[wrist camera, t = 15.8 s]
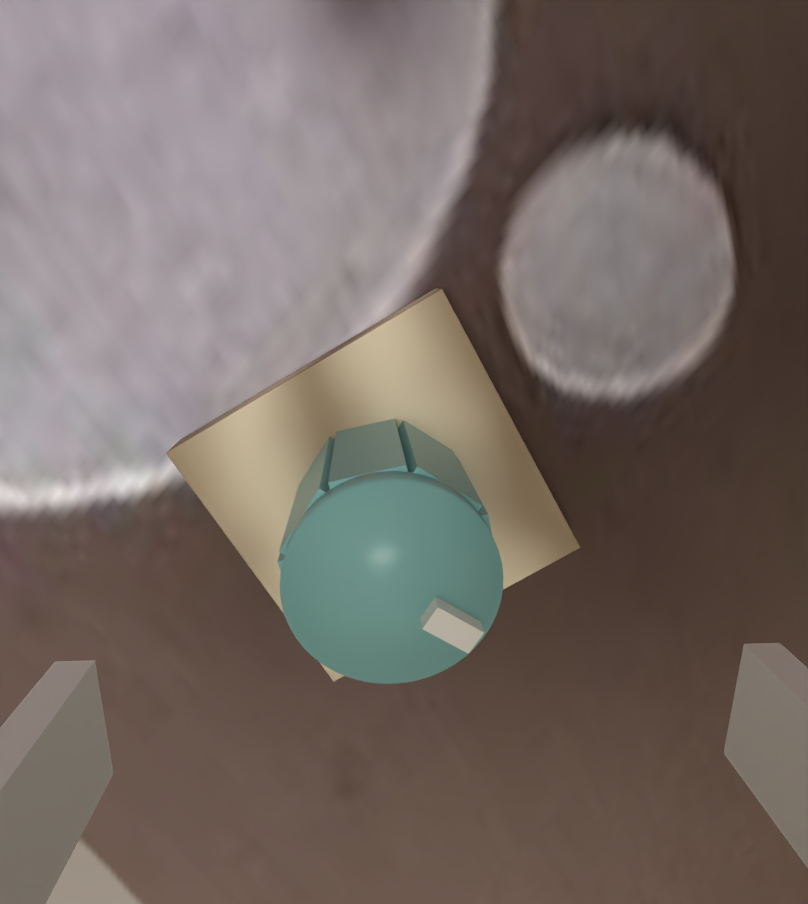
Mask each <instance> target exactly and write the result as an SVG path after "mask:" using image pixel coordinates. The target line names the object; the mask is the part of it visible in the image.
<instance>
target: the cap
mask: <svg viewBox="0 0 808 904" xmlns="http://www.w3.org/2000/svg"><path fill="white" fill-rule="evenodd" d="M279 552H280V555H279V558H278V561H277V562H278V565H279V568H280V572H281V574H280V597H281V603H282V608H283V612H284V615H285V618H286V620H287V623H288V625H289V627H290V629H291V631H292V632H293V634H294V636H295V637H296V639H297V640H298V641H299V643H300V644H301V645H302V647H303V648H304V649H305V650H306V651H307V652H308V653H309V654H310V655H311V656H312V657H314V658H315V659H316V660H318V661H319V662H320V663H321V664H323V665H324V666H326V667H328V668H330V669H331V670H333V671H335V672H337V673H339V674H342V675H344V676H346V677H349V678H353V679H356V680H360V681H365V682H371V683H381V684H395V683H406V682H411V681H417V680H420V679H424V678H427V677H430V676H433V675H435V674H437V673H440V672H442V671H444V670H446V669H447V668H449V667H451V666H453V665H455V664H456V663H457V662H459V661H460V660H461V659H463V658H464V657H466V656H467V655H468V654H469V653H470V652H471V651H472V650H473V649H474V648H475V647H476V646H477V645H478V644H479V643H480V641H481V640H482V639H483V638H484V636H485V635H486V633H487V632H488V630H489V629H490V627H491V625H492V623H493V621H494V619H495V617H496V615H497V612H498V609H499V606H500V603H501V598H502V592H503V568H502V561H501V557H500V554H499V550H498V548H497V545H496V543H495V541H494V538H493V536H492V532H491V526H490V521H489V516H488V513H487V511H486V509H485V507H484V505H483V503H482V502H481V500H480V498H479V496H478V494H477V492H476V491H475V489H474V487H473V485H472V483H471V481H470V480H469V478H468V476H467V474H466V472H465V470H464V469H463V467H462V465H461V463H460V461H459V459H458V458H457V457H456V456H455V454H454V452H453V450H451V449H450V448H448V447H446V446H445V445H443V444H442V443H440V442H438V441H437V440H435V439H433V438H432V437H430V436H429V435H427V434H425V433H424V432H422V431H421V430H419V429H417V428H416V427H414V426H412V425H411V424H409V423H408V422H406V421H404V420H403V421H402V422H401V424H400V426H399V427H398V429H397V425H396V421H395V419H390V420H386V421H381V422H377V423H372V424H368V425H364V426H359V427H355V428H350V429H346V430H341V431H337V432H336V436H335V440H334V439H333V438H331V437H329V438H328V439H327V441H326V443H325V444H324V446H323V447H322V449H321V450H320V452H319V454H318V455H317V457H316V458H315V460H314V462H313V463H312V465H311V466H310V468H309V470H308V471H307V473H306V474H305V476H304V477H303V479H302V481H301V482H300V484H299V486H298V489H297V493H296V496H295V499H294V503H293V506H292V509H291V513H290V516H289V519H288V523H287V526H286V529H285V533H284V536H283V539H282V543H281V546H280V550H279Z"/></svg>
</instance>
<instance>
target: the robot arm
mask: <svg viewBox="0 0 808 904" xmlns="http://www.w3.org/2000/svg"><path fill="white" fill-rule="evenodd" d="M724 754H725V756H726V757H727V758H728V760H729V761H730V762H731V764H732V765H733V767H734V768H735V769H736V771H737V772H738V773H739V775H740V776H741V777H742V779H743V780H744V782H745V783H746V784H747V786H748V787H749V788H750V790H751V791H752V793H753V794H754V795H755V797H756V798H757V799H758V801H759V802H760V804H761V805H762V806H763V808H764V809H765V810H766V812H767V813H768V814H769V816H770V817H771V819H772V820H773V821H774V823H775V824H776V825H777V827H778V828H779V830H780V831H781V832H782V834H783V835H784V836H785V838H786V839H787V840H788V842H789V843H790V845H791V846H792V847H793V849H794V850H795V851H796V853H797V854H798V856H799V857H800V858H801V860H802V861H803V862H804V864H805V865H806V866H807V868H808V668H807V667H806V666H805V665H804V664H803V663H801V662H800V661H799V660H798V659H797V658H796V657H795V656H794V655H793V654H792V653H790V652H789V651H788V650H787V649H786V648H785V647H784V646H783V645H782V644H781V643H756V644H744V646H743V652H742V657H741V662H740V668H739V673H738V679H737V684H736V689H735V695H734V700H733V706H732V711H731V716H730V722H729V727H728V733H727V738H726V743H725V749H724ZM112 776H113V768H112V762H111V756H110V750H109V743H108V737H107V731H106V725H105V719H104V713H103V707H102V701H101V695H100V688H99V682H98V676H97V670H96V664H95V660H92V661H55V662H54V663H53V664H52V666H51V667H50V668H49V669H48V671H47V672H46V673H45V674H44V675H43V677H42V678H41V679H40V680H39V681H38V683H37V684H36V685H35V686H34V687H33V689H32V690H31V691H30V692H29V693H28V695H27V696H26V697H25V698H24V700H23V701H22V702H21V703H20V704H19V706H18V707H17V708H16V709H15V710H14V712H13V713H12V714H11V715H10V716H9V718H8V719H7V720H6V721H5V722H4V724H3V725H2V726H1V727H0V904H46V902H47V900H48V898H49V896H50V894H51V892H52V890H53V888H54V886H55V884H56V883H57V880H58V879H59V877H60V875H61V873H62V871H63V869H64V867H65V865H66V864H67V862H68V859H69V858H70V856H71V854H72V852H73V850H74V848H75V846H76V844H77V843H78V841H79V839H80V837H81V835H82V833H83V831H84V829H85V827H86V825H87V823H88V822H89V820H90V818H91V816H92V814H93V812H94V810H95V808H96V806H97V804H98V802H99V801H100V799H101V797H102V795H103V793H104V791H105V789H106V787H107V785H108V783H109V781H110V780H111V778H112Z"/></svg>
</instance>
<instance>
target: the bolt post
mask: <svg viewBox="0 0 808 904" xmlns="http://www.w3.org/2000/svg"><path fill="white" fill-rule="evenodd" d="M390 419H395V421H396V425H397V429H398V427H399V426H400V424H401V422H402V421H403V420H404V421H406V422H408V423H409V424H411V425H412V426H414V427H416V428H417V429H419V430H421V431H422V432H424V433H425V434H427V435H429V436H430V437H432V438H433V439H435V440H437V441H438V442H440V443H442V444H443V445H445V446H446V447H448V448H450V449H451V450H453V452H454V454H455V456H456V457H457V458H458V459H459V461H460V463H461V465H462V467H463V469H464V470H465V472H466V474H467V476H468V478H469V480H470V481H471V483H472V485H473V487H474V489H475V491H476V492H477V494H478V496H479V498H480V500H481V502H482V503H483V505H484V507H485V509H486V511H487V513H488V516H489V521H490V526H491V532H492V536H493V538H494V541H495V543H496V545H497V548H498V550H499V554H500V557H501V561H502V568H503V589H505V588H507V587H509V586H511V585H512V584H514V583H516V582H518V581H520V580H522V579H523V578H525V577H527V576H529V575H531V574H533V573H534V572H536V571H538V570H540V569H542V568H544V567H545V566H547V565H549V564H551V563H553V562H555V561H557V560H558V559H560V558H562V557H564V556H566V555H568V554H569V553H571V552H573V551H575V550H577V549H579V548H580V546H579V544H578V543H577V541H576V539H575V537H574V535H573V533H572V531H571V530H570V528H569V526H568V524H567V522H566V520H565V518H564V516H563V515H562V513H561V511H560V509H559V507H558V505H557V503H556V501H555V500H554V498H553V496H552V494H551V492H550V490H549V488H548V486H547V485H546V483H545V481H544V479H543V477H542V475H541V473H540V471H539V470H538V468H537V466H536V464H535V462H534V460H533V458H532V457H531V455H530V453H529V451H528V449H527V447H526V445H525V443H524V442H523V440H522V438H521V436H520V434H519V432H518V430H517V428H516V427H515V425H514V423H513V421H512V419H511V417H510V415H509V413H508V412H507V410H506V408H505V406H504V404H503V402H502V400H501V399H500V397H499V395H498V393H497V391H496V389H495V387H494V385H493V384H492V382H491V380H490V378H489V376H488V374H487V372H486V370H485V369H484V367H483V365H482V363H481V361H480V359H479V357H478V355H477V354H476V352H475V350H474V348H473V346H472V344H471V342H470V340H469V339H468V337H467V335H466V333H465V331H464V329H463V327H462V326H461V324H460V322H459V320H458V318H457V316H456V314H455V312H454V311H453V309H452V307H451V305H450V303H449V301H448V299H447V297H446V296H445V294H444V292H443V290H442V289H437V288H435V289H433V290H432V291H430V292H428V293H427V294H425V295H423V296H422V297H420V298H418V299H417V300H415V301H413V302H412V303H410V304H408V305H407V306H405V307H403V308H401V309H400V310H398V311H396V312H395V313H393V314H391V315H390V316H388V317H386V318H385V319H383V320H381V321H380V322H378V323H376V324H375V325H373V326H371V327H369V328H368V329H366V330H364V331H363V332H361V333H359V334H358V335H356V336H354V337H353V338H351V339H349V340H348V341H346V342H344V343H343V344H341V345H339V346H338V347H336V348H334V349H332V350H331V351H329V352H327V353H326V354H324V355H322V356H321V357H319V358H317V359H316V360H314V361H312V362H311V363H309V364H307V365H306V366H304V367H302V368H301V369H299V370H297V371H295V372H294V373H292V374H290V375H289V376H287V377H285V378H284V379H282V380H280V381H279V382H277V383H275V384H274V385H272V386H270V387H269V388H267V389H265V390H264V391H262V392H260V393H258V394H257V395H255V396H253V397H252V398H250V399H248V400H247V401H245V402H243V403H242V404H240V405H238V406H237V407H235V408H233V409H232V410H230V411H228V412H227V413H225V414H223V415H221V416H220V417H218V418H216V419H215V420H213V421H211V422H210V423H208V424H206V425H205V426H203V427H201V428H200V429H198V430H196V431H195V432H193V433H191V434H190V435H188V436H186V437H184V438H183V439H181V440H180V441H179V442H178V443H177V444H176V445H174V446H173V447H172V448H171V449H170V450H169V451H168V452H167V453H166V454H167V455H168V456H169V458H170V459H171V461H172V462H173V463H174V465H175V466H176V467H177V469H178V470H179V471H180V473H181V474H182V476H183V477H184V478H185V480H186V481H187V482H188V484H189V485H190V486H191V488H192V489H193V491H194V492H195V493H196V495H197V496H198V497H199V499H200V500H201V501H202V503H203V504H204V506H205V507H206V508H207V510H208V511H209V512H210V514H211V515H212V516H213V518H214V519H215V521H216V522H217V523H218V525H219V526H220V527H221V529H222V530H223V531H224V533H225V534H226V536H227V537H228V538H229V540H230V541H231V542H232V544H233V545H234V546H235V548H236V549H237V550H238V552H239V553H240V555H241V556H242V557H243V559H244V560H245V561H246V563H247V564H248V565H249V567H250V568H251V570H252V571H253V572H254V574H255V575H256V576H257V578H258V579H259V580H260V582H261V583H262V585H263V586H264V587H265V589H266V590H267V591H268V593H269V594H270V595H271V597H272V598H273V600H274V601H275V602H276V604H277V605H278V606H279V608H280V609H281V610H282V612H283V608H282V603H281V597H280V574H281V572H280V568H279V565H278V562H277V561H278V558H279V555H280V552H279V550H280V546H281V543H282V539H283V536H284V533H285V529H286V526H287V523H288V519H289V516H290V513H291V509H292V506H293V503H294V499H295V496H296V493H297V489H298V486H299V484H300V482H301V481H302V479H303V477H304V476H305V474H306V473H307V471H308V470H309V468H310V466H311V465H312V463H313V462H314V460H315V458H316V457H317V455H318V454H319V452H320V450H321V449H322V447H323V446H324V444H325V443H326V441H327V439H328V438H329V437H331V438H333V439H334V440H335V436H336V432H337V431H341V430H346V429H350V428H355V427H359V426H364V425H368V424H372V423H377V422H381V421H386V420H390ZM283 613H284V612H283ZM320 664H321V663H320ZM321 665H322V666H323V668H324V669H325V670H326V672H327V673H328V675H329V676H330V677H331V679H332V680H333V681H336V680H338V679H339V678H341V677H343V676H344V675H342V674H339V673H337V672H335V671H333V670H331V669H330V668H328V667H326V666H324V665H323V664H321Z"/></svg>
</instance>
